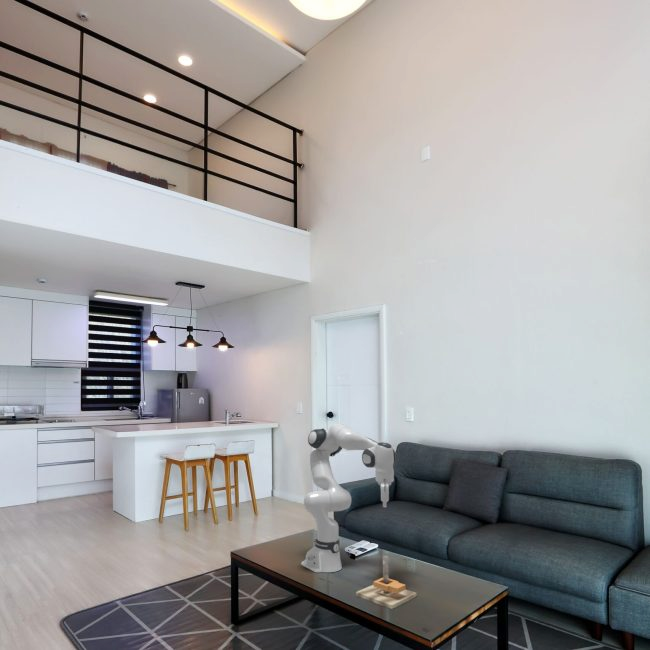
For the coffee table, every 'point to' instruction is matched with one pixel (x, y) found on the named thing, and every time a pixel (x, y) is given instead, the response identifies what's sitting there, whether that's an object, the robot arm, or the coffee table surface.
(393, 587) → the collar
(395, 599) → the pipe stand
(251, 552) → the coffee table surface
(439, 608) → the coffee table surface
